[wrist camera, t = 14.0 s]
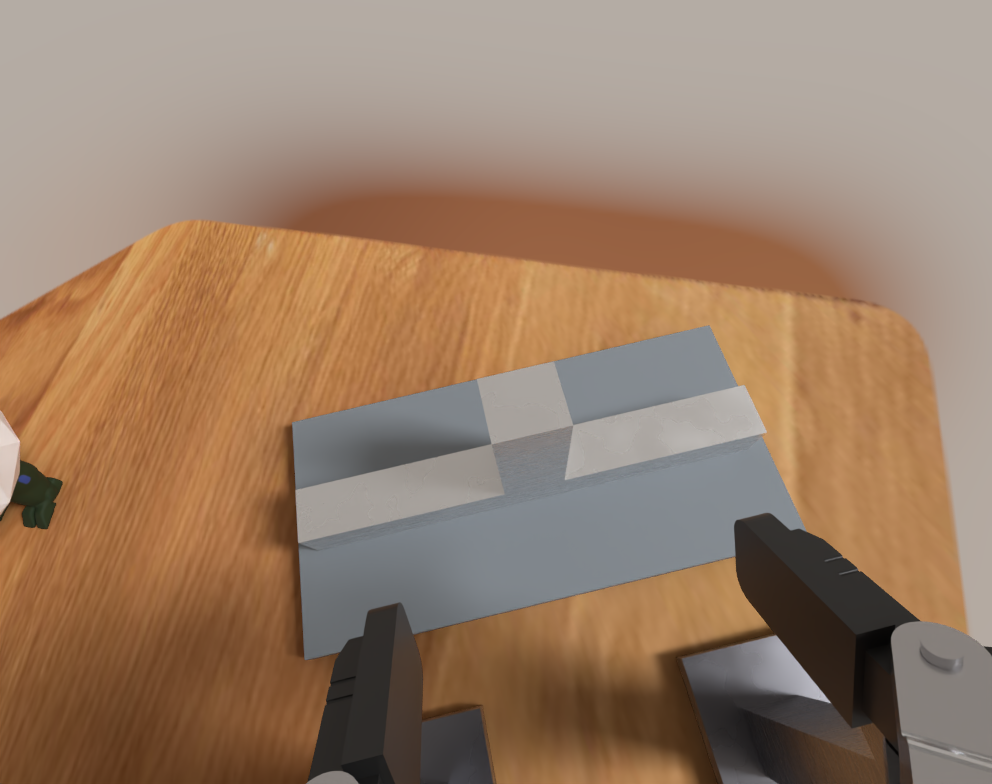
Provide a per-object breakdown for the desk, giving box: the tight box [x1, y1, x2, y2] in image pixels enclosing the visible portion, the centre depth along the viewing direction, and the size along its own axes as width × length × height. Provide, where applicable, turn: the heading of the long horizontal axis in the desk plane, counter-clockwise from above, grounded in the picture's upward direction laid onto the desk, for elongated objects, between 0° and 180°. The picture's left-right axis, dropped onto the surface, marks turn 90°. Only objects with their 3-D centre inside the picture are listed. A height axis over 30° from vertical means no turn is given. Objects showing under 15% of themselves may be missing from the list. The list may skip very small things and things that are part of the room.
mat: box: [292, 326, 807, 660], centre depth 27 cm, size 24×12×1 cm, turn 102°
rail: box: [296, 361, 767, 551], centre depth 22 cm, size 22×2×10 cm, turn 102°
